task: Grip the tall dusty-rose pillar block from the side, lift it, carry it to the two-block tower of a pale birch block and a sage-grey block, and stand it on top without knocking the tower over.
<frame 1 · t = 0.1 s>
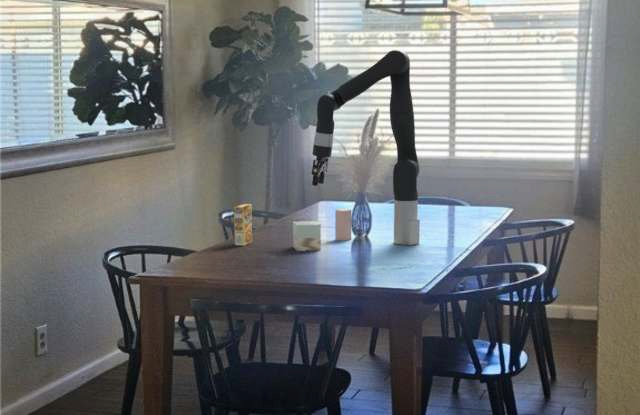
hand: (317, 184, 381), 22 cm above the table, tool pointing down, fingers open, 8 cm apart
tower base: (306, 249, 364), on the table, touching tower top
tower top: (306, 236, 363), point 5 cm above the table, touching tower base
candy box: (243, 244, 374), on the table
pillar block: (343, 239, 384), on the table
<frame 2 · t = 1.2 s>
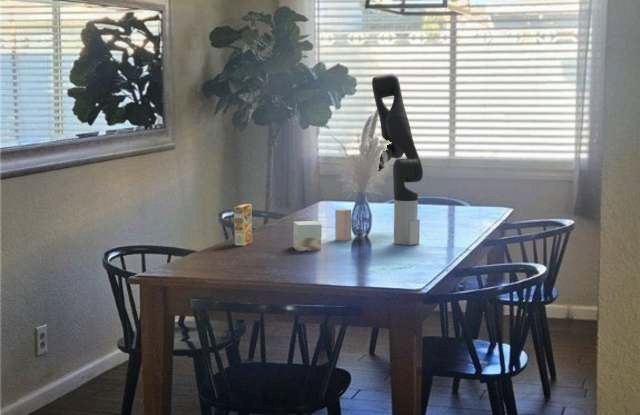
hand: (358, 169, 384), 28 cm above the table, tool horizontal, fingers open, 8 cm apart
nothing on the table moved.
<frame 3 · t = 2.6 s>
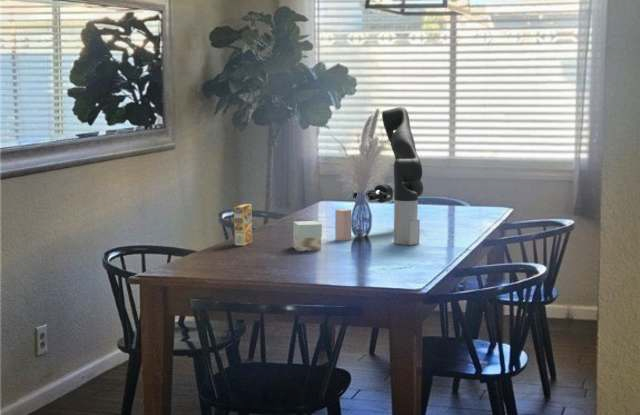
hand: (361, 196, 390), 16 cm above the table, tool horizontal, fingers open, 8 cm apart
nothing on the table moved.
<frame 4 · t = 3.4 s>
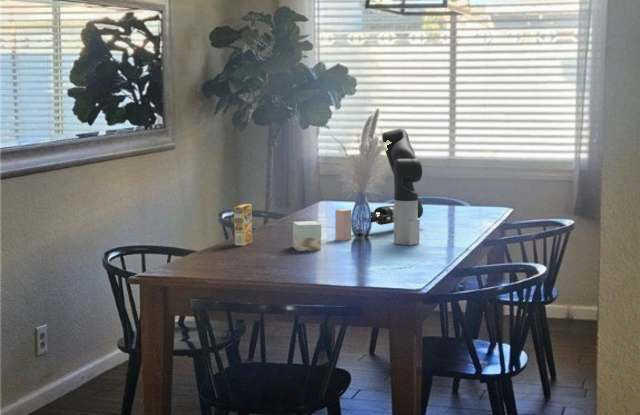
hand: (361, 219, 391), 7 cm above the table, tool horizontal, fingers open, 8 cm apart
tower base: (306, 249, 364), on the table
tower top: (307, 236, 363), point 5 cm above the table
everything else where it was.
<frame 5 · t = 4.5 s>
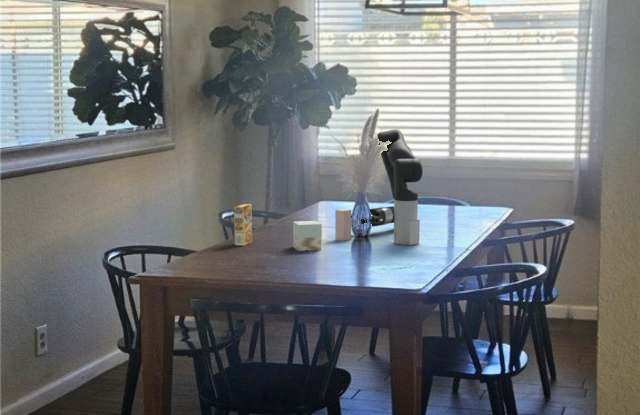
hand: (353, 220, 388), 7 cm above the table, tool horizontal, fingers open, 8 cm apart
tower base: (307, 248, 364), on the table, touching tower top
tower top: (307, 235, 363), point 5 cm above the table, touching tower base
everything else where it was.
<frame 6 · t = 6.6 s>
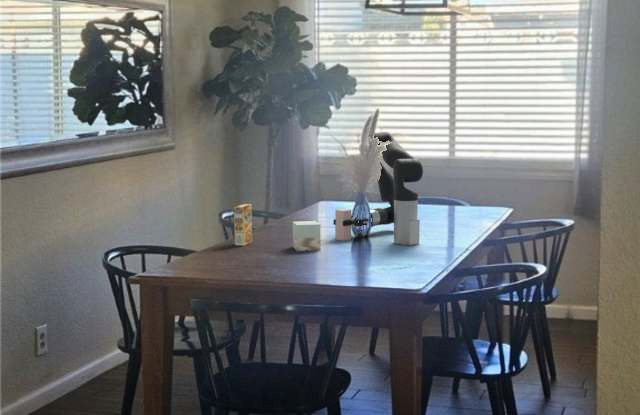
hand: (338, 222, 381), 7 cm above the table, tool horizontal, fingers closed on pillar block, 4 cm apart
pillar block: (343, 239, 384), on the table, touching gripper
everything else where it was.
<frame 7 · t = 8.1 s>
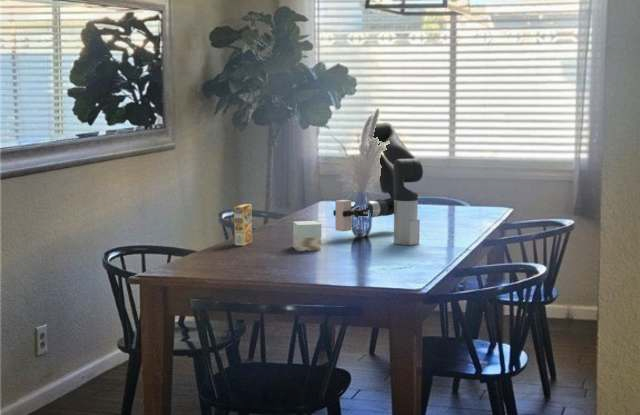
hand: (338, 213, 381), 11 cm above the table, tool horizontal, fingers closed on pillar block, 4 cm apart
pillar block: (343, 230, 383), point 4 cm above the table, touching gripper
everything else where it was.
when the fingers open (18 cm above the table, at t = 17.2 s): pillar block drops 1 cm, resting on tower top.
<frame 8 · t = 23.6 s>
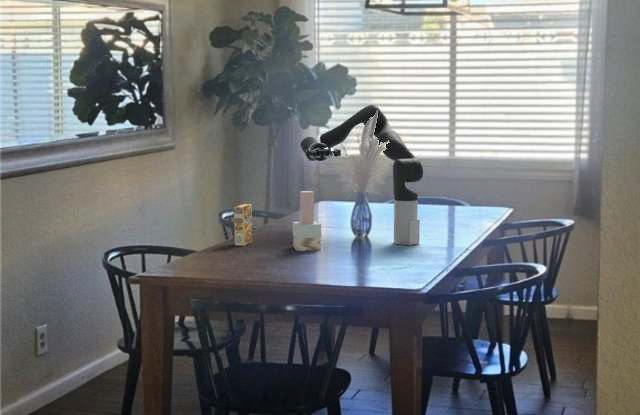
hand: (326, 154, 385), 34 cm above the table, tool horizontal, fingers open, 8 cm apart
tower top: (306, 236, 363), point 5 cm above the table, touching pillar block, tower base
pillar block: (306, 223, 362), point 10 cm above the table, touching tower top
everything else where it was.
at the end: pillar block 0.1 cm off-centre on the tower top, point 5.0 cm above the tower top's base; tower top 0.0 cm off-centre on the tower base, point 5.0 cm above the tower base's base; pillar block tilted 1° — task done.
